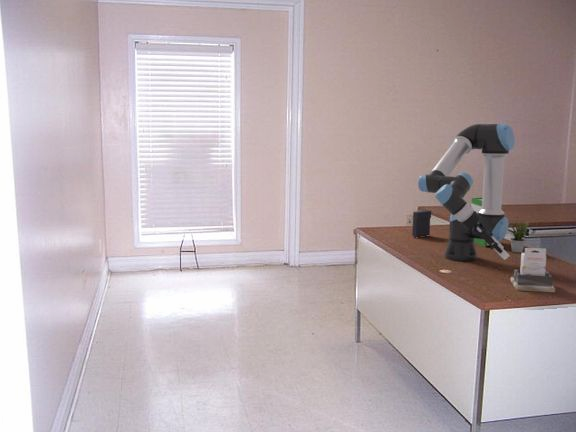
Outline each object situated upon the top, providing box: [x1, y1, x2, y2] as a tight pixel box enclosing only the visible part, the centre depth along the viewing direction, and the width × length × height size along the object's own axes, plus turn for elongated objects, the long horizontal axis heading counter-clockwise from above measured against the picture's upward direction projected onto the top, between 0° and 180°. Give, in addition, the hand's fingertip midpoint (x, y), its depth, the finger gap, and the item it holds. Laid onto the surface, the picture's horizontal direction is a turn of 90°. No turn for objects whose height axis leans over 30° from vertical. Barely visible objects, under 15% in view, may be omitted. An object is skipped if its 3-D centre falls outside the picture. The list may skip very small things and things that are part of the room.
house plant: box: [506, 220, 531, 253], centre depth 277 cm, size 14×14×16 cm
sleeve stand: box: [510, 268, 556, 293], centre depth 219 cm, size 14×14×6 cm
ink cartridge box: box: [519, 247, 547, 276], centre depth 218 cm, size 9×5×15 cm, turn 80°
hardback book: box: [470, 197, 490, 248], centre depth 294 cm, size 18×7×24 cm, turn 8°
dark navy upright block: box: [411, 209, 432, 238], centre depth 313 cm, size 11×4×15 cm, turn 122°
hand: (504, 253), depth 220 cm, fingers open, 13 cm apart
